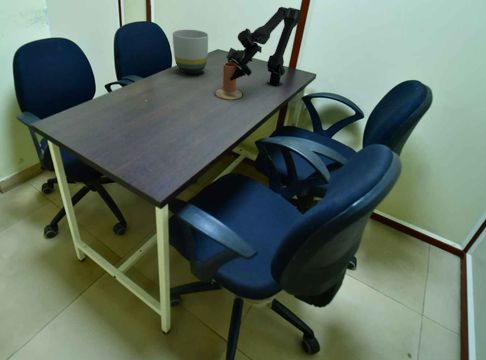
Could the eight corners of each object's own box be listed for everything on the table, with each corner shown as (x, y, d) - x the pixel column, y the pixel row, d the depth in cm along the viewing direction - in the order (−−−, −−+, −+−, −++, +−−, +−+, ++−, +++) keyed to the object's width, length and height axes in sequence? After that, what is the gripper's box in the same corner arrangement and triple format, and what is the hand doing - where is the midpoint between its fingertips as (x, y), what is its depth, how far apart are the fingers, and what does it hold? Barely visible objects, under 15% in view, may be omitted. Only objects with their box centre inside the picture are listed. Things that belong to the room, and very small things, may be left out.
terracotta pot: (226, 86, 159) (227, 61, 151) (237, 89, 158) (239, 64, 150) (220, 90, 155) (221, 65, 146) (232, 93, 153) (233, 67, 145)
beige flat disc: (227, 86, 165) (227, 86, 165) (247, 94, 159) (247, 93, 158) (209, 93, 156) (209, 92, 156) (230, 102, 150) (230, 101, 150)
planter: (168, 70, 179) (165, 31, 166) (195, 65, 190) (194, 28, 176) (187, 80, 168) (185, 39, 155) (214, 74, 179) (215, 36, 166)
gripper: (230, 36, 149) (210, 61, 152) (248, 47, 137) (225, 73, 139) (243, 52, 157) (223, 75, 160) (260, 63, 145) (239, 88, 147)
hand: (227, 77), depth 151 cm, fingers closed on terracotta pot, 7 cm apart
